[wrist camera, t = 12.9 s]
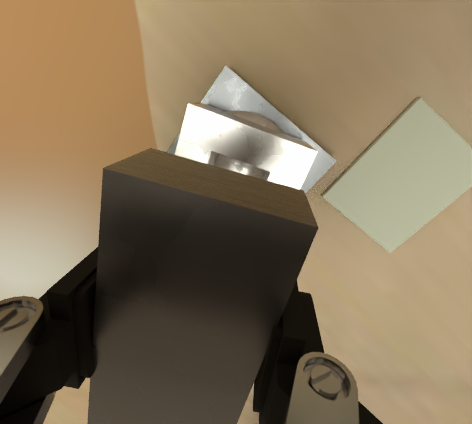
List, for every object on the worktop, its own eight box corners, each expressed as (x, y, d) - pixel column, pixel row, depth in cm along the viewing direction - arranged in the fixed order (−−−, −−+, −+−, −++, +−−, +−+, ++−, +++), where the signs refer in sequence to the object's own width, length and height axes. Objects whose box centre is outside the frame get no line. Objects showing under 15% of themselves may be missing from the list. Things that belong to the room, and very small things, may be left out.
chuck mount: (228, 67, 26) (225, 65, 24) (331, 157, 28) (336, 161, 26) (155, 174, 30) (148, 179, 28) (249, 244, 32) (248, 253, 30)
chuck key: (204, 125, 14) (103, 168, 5) (287, 148, 14) (318, 227, 5) (175, 268, 18) (86, 431, 9) (242, 286, 18) (217, 467, 9)
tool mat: (417, 97, 25) (420, 97, 24) (488, 167, 27) (493, 168, 26) (321, 195, 29) (322, 197, 29) (387, 250, 31) (390, 253, 30)
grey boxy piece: (200, 92, 24) (179, 88, 19) (316, 135, 25) (332, 146, 19) (170, 202, 29) (145, 227, 23) (270, 238, 29) (271, 272, 23)
